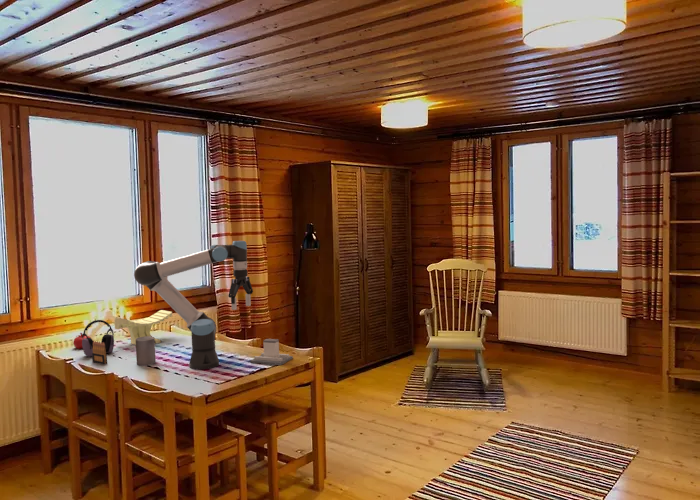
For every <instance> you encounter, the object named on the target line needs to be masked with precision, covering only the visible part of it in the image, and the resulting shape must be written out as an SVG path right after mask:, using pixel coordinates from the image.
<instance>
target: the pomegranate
mask: <svg viewBox="0 0 700 500" xmlns="http://www.w3.org/2000/svg"><path fill="white" fill-rule="evenodd" d="M79 334H80V335H76V336H75V338H74V340H73V342H72V343H73V346H74V348H75V349H78V350H83V347H82V340H83V339H85V338H86V339H87V337H86V336H85V335H84V336H83V339H82V334H83V332H80V333H79ZM87 336H88V338H91V336H89V335H87ZM91 339H92V338H91Z"/></svg>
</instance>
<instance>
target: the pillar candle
mask: <svg viewBox="0 0 700 500" xmlns="http://www.w3.org/2000/svg"><path fill="white" fill-rule="evenodd" d="M154 338H156V337H154V336H153V335H151V336H145V337H139V338H136V345H135V350H136V351H135V356H136V365H137V366H150V365H153V364H156V362H157V361H156V345H155V344H156V343H155V340H154Z"/></svg>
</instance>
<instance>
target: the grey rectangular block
mask: <svg viewBox="0 0 700 500" xmlns="http://www.w3.org/2000/svg"><path fill="white" fill-rule="evenodd" d="M279 341H280V339H278V338H276V339H275V338H266V339H264V340H263V342H262V343H263V353H264V357H275V358H279V354H280V343H279Z"/></svg>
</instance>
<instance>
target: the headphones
mask: <svg viewBox="0 0 700 500" xmlns="http://www.w3.org/2000/svg"><path fill="white" fill-rule="evenodd" d="M96 323H103V324H105V325H106V326H107V327H108V329H107V332H106V334H104V335H103V336H102V338H101V341H100V343H101V342H102V343H103V342H104V344H105V349H106V354H110V353H113V352H114V347H115V337H114V330H113V328H112V325H110V323H108V322H107V321H106V320H102V319H97V320H95V319H94V320H93V321H91V322H88V323H87V325H86V326H85V328H84V330H83V332H82V339H83V336H84V335H85V336H86V337H87V339H86V338H85V339H83V340H82V347H83V348H82V350H83V354H84V355H85V356H87V357H89V358H90V357H92V353H93V341H94V340H93V338H88V336H89V335H88V334H86V331H88V329H89V328H90V327H91V326H93V325H94V324H96ZM109 332H111V334H110V333H109Z"/></svg>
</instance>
